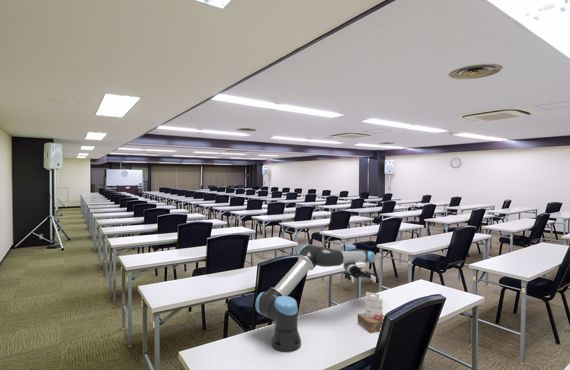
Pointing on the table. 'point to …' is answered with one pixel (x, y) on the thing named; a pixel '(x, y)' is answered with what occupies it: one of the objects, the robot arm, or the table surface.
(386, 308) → the table surface
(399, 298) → the table surface
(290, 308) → the robot arm
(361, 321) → the walnut block
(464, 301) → the table surface
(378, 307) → the ink cartridge box
